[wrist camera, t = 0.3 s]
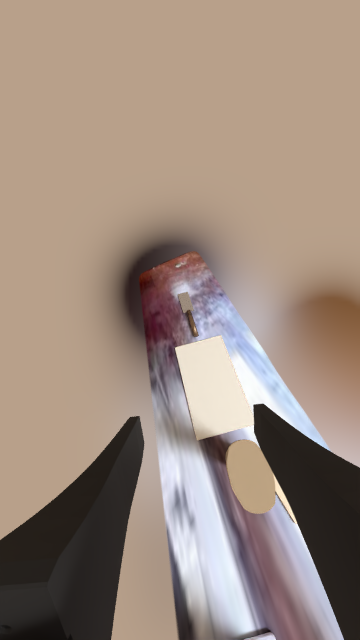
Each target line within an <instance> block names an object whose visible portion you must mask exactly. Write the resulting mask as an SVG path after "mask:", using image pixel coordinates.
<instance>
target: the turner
mask: <svg viewBox="0 0 360 640" xmlns="http://www.w3.org/2000/svg"><path fill="white" fill-rule="evenodd" d="M178 296H179V300H180V303H181V307H182V310H183V313H187V315H188V318H189V322H190V325H191V328H192V331H193V335H194V337H197V336H199V335H198V332H197V329H196V326H195V323H194V319H193V316H192V313H191V311H194V309H193V306H192V303H191V300H190V298H189V295H188V292H185V293H181V294H178Z"/></svg>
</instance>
